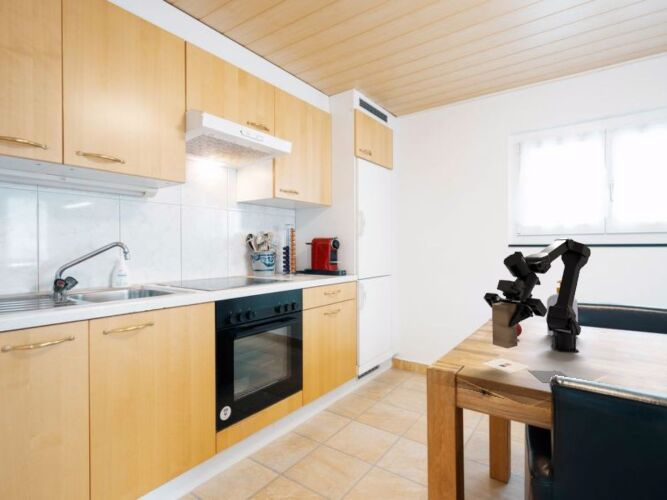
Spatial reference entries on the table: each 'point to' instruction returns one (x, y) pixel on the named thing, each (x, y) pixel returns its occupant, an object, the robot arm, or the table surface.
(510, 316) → the walnut post
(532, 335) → the table surface
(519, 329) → the onion
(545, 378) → the grey pad
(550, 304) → the soap bottle
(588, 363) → the table surface
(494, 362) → the tile
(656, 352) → the table surface
